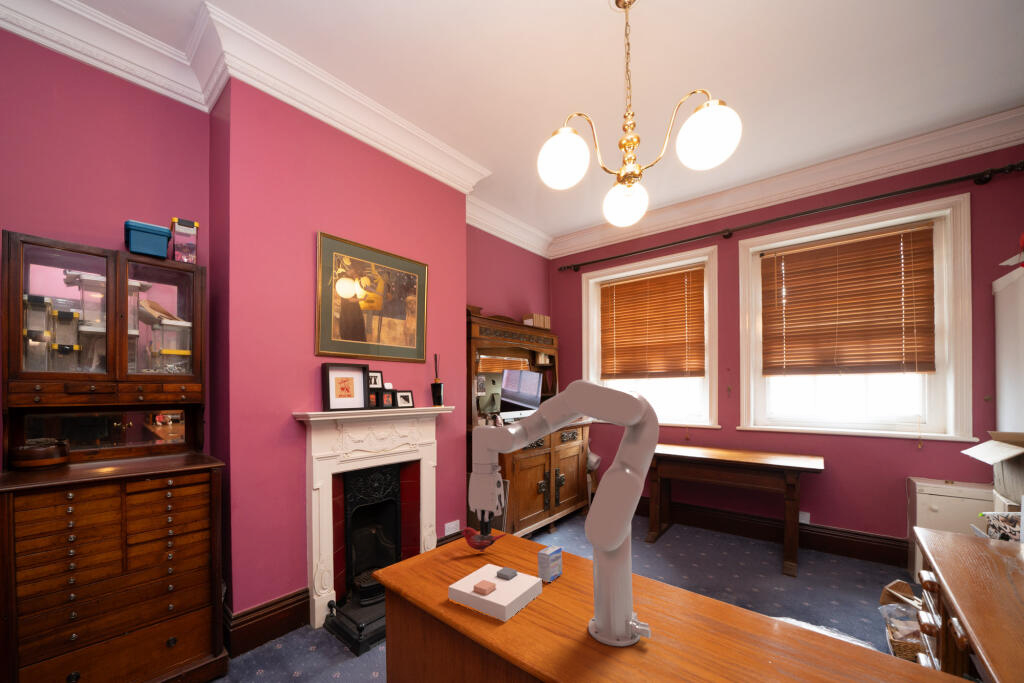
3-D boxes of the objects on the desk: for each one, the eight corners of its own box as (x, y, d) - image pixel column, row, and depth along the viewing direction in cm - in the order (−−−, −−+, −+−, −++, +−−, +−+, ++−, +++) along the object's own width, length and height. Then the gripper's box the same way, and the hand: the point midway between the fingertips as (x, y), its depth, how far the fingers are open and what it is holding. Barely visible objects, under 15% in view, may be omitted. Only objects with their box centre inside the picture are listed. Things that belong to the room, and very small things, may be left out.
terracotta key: (495, 594, 117) (495, 583, 117) (486, 601, 113) (486, 589, 114) (483, 590, 119) (483, 579, 120) (473, 597, 116) (473, 585, 116)
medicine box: (549, 584, 129) (549, 554, 130) (537, 580, 131) (537, 551, 132) (562, 575, 135) (562, 547, 136) (550, 571, 138) (550, 544, 139)
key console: (542, 593, 123) (542, 578, 123) (505, 622, 107) (505, 606, 108) (488, 576, 134) (488, 563, 134) (448, 601, 118) (448, 586, 119)
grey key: (516, 580, 126) (516, 570, 126) (508, 586, 122) (508, 575, 123) (505, 577, 128) (505, 566, 129) (496, 582, 125) (496, 571, 125)
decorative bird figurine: (460, 555, 152) (460, 526, 153) (506, 549, 157) (506, 521, 158) (461, 558, 149) (461, 529, 150) (508, 552, 154) (508, 524, 156)
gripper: (513, 468, 120) (514, 535, 117) (473, 464, 128) (473, 526, 126) (498, 473, 113) (499, 543, 111) (457, 468, 122) (457, 533, 119)
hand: (485, 534), depth 118 cm, fingers closed
